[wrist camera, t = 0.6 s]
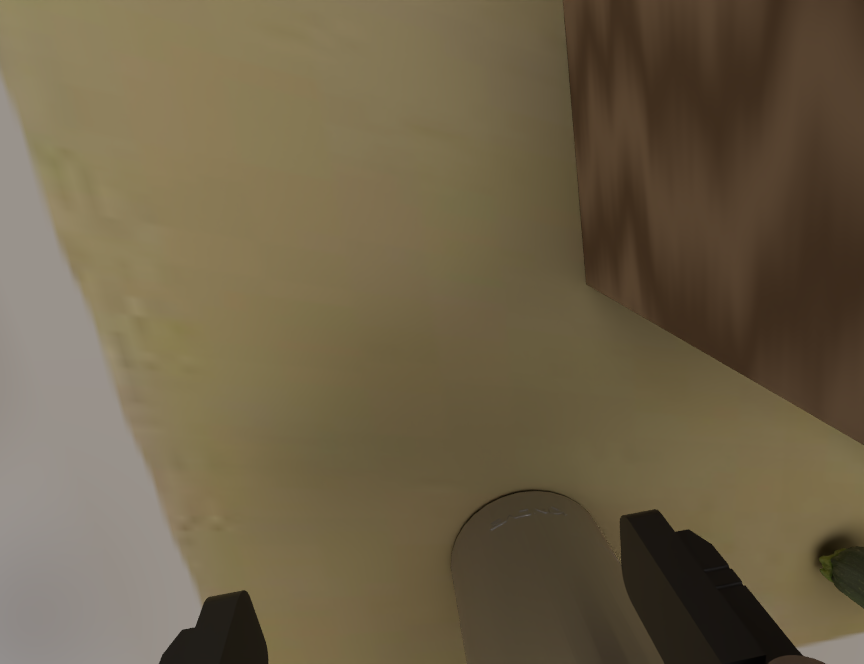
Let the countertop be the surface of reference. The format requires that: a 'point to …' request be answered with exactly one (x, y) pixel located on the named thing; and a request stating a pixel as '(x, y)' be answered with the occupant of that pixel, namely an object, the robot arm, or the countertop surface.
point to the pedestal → (730, 182)
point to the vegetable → (846, 572)
